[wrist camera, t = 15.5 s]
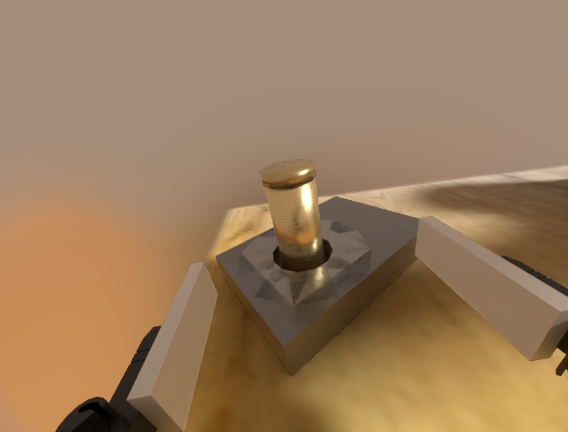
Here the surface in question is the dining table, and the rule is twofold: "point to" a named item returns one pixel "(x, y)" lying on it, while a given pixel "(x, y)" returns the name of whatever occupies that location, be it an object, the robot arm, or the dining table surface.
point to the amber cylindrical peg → (295, 213)
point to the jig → (320, 277)
